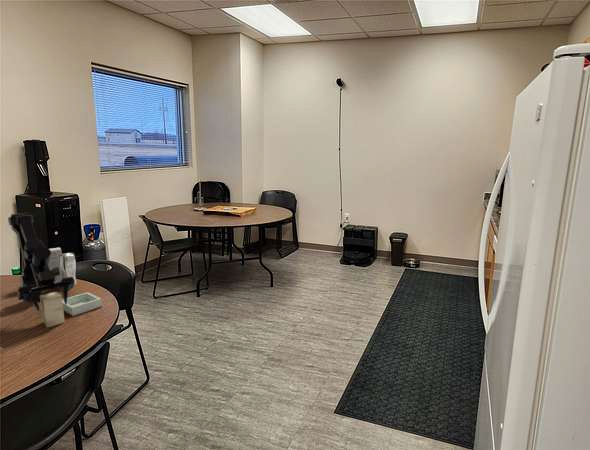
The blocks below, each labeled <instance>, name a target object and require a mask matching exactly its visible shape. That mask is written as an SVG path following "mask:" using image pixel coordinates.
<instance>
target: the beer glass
mask: <svg viewBox="0 0 590 450" xmlns="http://www.w3.org/2000/svg"><path fill="white" fill-rule="evenodd" d="M76 263H77V262H76V258H75V253H74V252H66V253H65V252H64V253H62V254H60V255H59V267H60V270H61V273H62V276H63V278H67V277H73V278H74V281H75V283H74V286H75V285H77V283H78V282H77V277H76V269H77V268H76V267H77V265H76Z"/></svg>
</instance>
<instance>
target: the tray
mask: <svg viewBox="0 0 590 450" xmlns="http://www.w3.org/2000/svg"><path fill="white" fill-rule="evenodd" d="M62 304H63V312H64V313H66V314H68V315H70V316H72V317H74V316H77V315H80V314H83V313H87V312H90V311H92V310H96V309H100V308H103V301H102V298H101V297H99V296H97V295H94V294H92V293H91V292H88V291H87V292H83V293H80V294H77V295H73V296H69V297H67V304H65V302H64V299H63V298H62Z"/></svg>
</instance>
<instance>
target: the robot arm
mask: <svg viewBox="0 0 590 450" xmlns="http://www.w3.org/2000/svg"><path fill="white" fill-rule="evenodd" d="M7 221H8V225H9V226H10V228H11V230H12V231H13V232H14V233H15V234H16V235H17V238H18V242H19V247H20V252H21V256H22V260H23V264H24V266H23V267H24V268H23V270H22V272H21V275H20V286H19V287H17V299H18V301H22V300H23V302H25V301H26V302H28V303H29V304H30V305H31V306H32V307H33V308H34V309H36V310H37V311H38V312H40V306H39V303H38V302H40V295H43V292H44V291H49V290H53V289H58V288H61V294H62V295H61V296H62V299H64V302H65V304H67V298H68V293H69V292H70V291H71V289H74V286H75V285H74V283H75V281H74V278H73V277H67V278H62V280H61V282H58V283H54V282H55V276H59V275H60V271H59V268H58V267H56V268H53V269H52V270H50V268H49V265H48V264H49V261H50V255H51V251H50V250H49V249H50V248H48V247H47V246H46V245H44V242H43V241H42V240H40V239H38V236H37V233H36V230H35V228H34V225H33V224H34V223H35V222H34V217H33V214H30V213H28V212H23V213H21V212H20V213H12V214H10V216H9V217H8V218H7Z"/></svg>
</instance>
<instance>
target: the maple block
mask: <svg viewBox="0 0 590 450" xmlns="http://www.w3.org/2000/svg"><path fill="white" fill-rule="evenodd" d="M42 294H43V293H42ZM62 299H63V295H61V294H60V293H59V292H58V291H53V292H48V293H44V294H43V295H40V301H39V302H40V310H41V317H42V323H43V324H44V325H45V327H46V328H49V327H54V326H58V325H60V324H64V323H66V321H65V311H63V304H62Z"/></svg>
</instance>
